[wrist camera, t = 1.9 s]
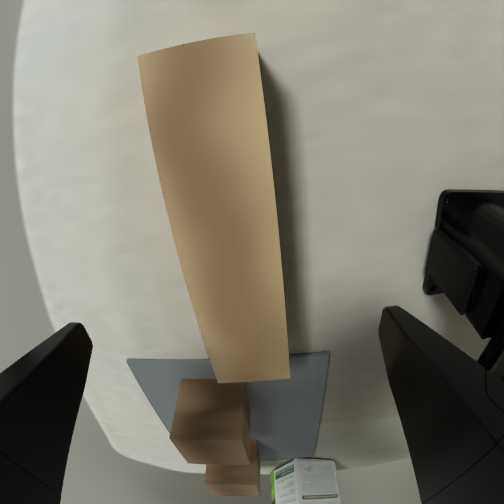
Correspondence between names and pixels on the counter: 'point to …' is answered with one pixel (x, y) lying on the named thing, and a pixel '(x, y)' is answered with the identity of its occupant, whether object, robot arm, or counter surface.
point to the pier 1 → (212, 422)
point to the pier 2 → (236, 476)
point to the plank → (221, 199)
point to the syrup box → (305, 482)
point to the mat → (251, 400)
